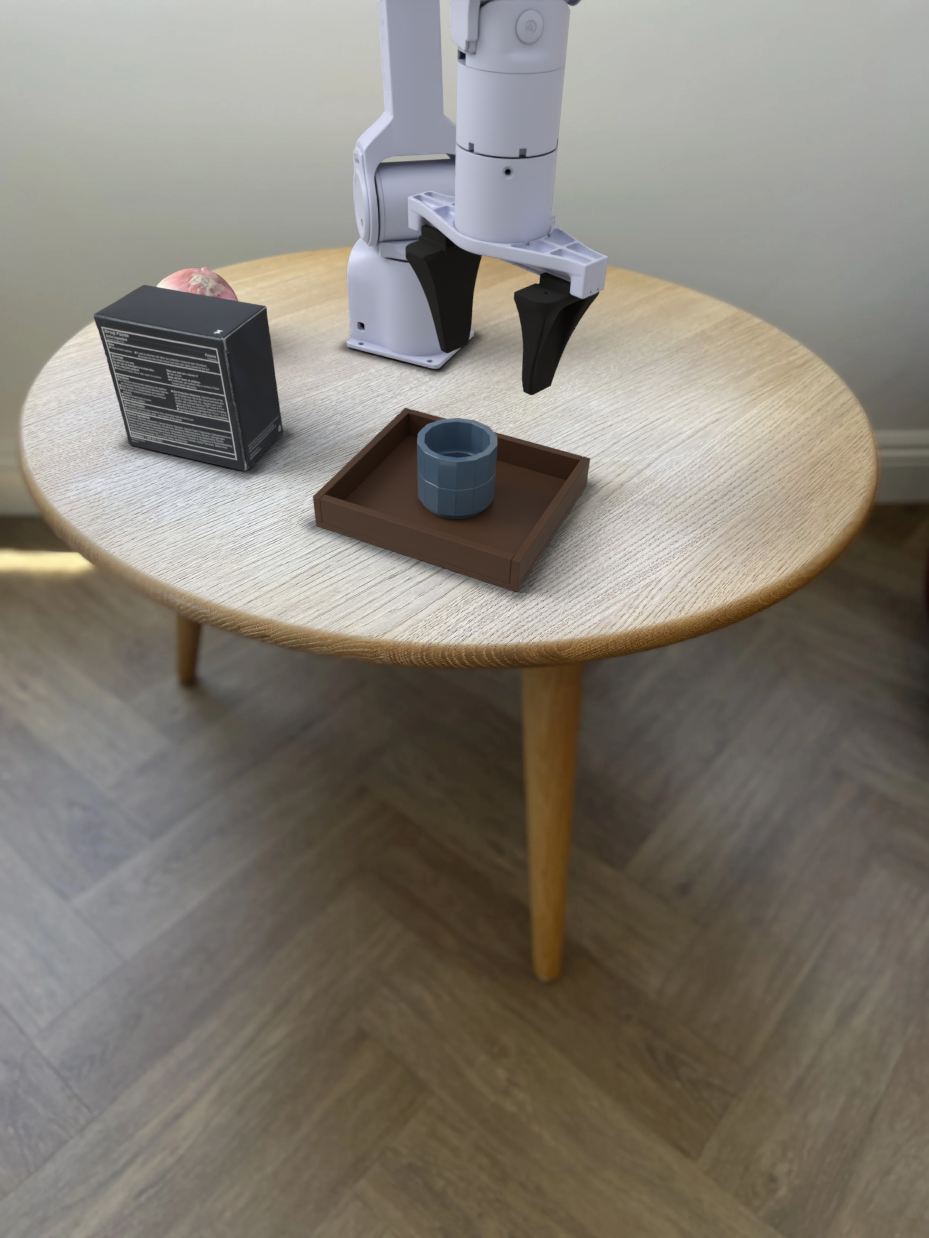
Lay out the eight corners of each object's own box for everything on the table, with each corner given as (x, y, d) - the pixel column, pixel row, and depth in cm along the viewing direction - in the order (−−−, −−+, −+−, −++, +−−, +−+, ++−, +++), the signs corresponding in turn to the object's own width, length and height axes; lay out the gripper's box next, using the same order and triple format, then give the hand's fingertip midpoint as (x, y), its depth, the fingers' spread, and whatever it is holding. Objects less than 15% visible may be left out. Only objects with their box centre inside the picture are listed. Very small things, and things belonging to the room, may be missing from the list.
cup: (402, 494, 62) (400, 434, 59) (463, 469, 65) (464, 409, 61) (448, 532, 59) (449, 470, 56) (509, 504, 62) (514, 443, 58)
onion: (201, 377, 75) (184, 295, 70) (137, 353, 77) (117, 273, 73) (263, 342, 80) (252, 263, 75) (201, 320, 82) (186, 243, 78)
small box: (288, 431, 69) (271, 302, 62) (247, 474, 64) (224, 341, 57) (173, 405, 71) (143, 278, 64) (125, 446, 67) (88, 314, 59)
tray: (315, 525, 60) (312, 496, 58) (405, 435, 69) (405, 407, 67) (517, 592, 56) (520, 562, 54) (586, 486, 64) (590, 457, 63)
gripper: (655, 160, 47) (617, 387, 56) (465, 104, 54) (460, 314, 64) (571, 188, 43) (546, 426, 53) (379, 124, 50) (387, 344, 60)
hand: (494, 367), depth 58 cm, fingers open, 7 cm apart
